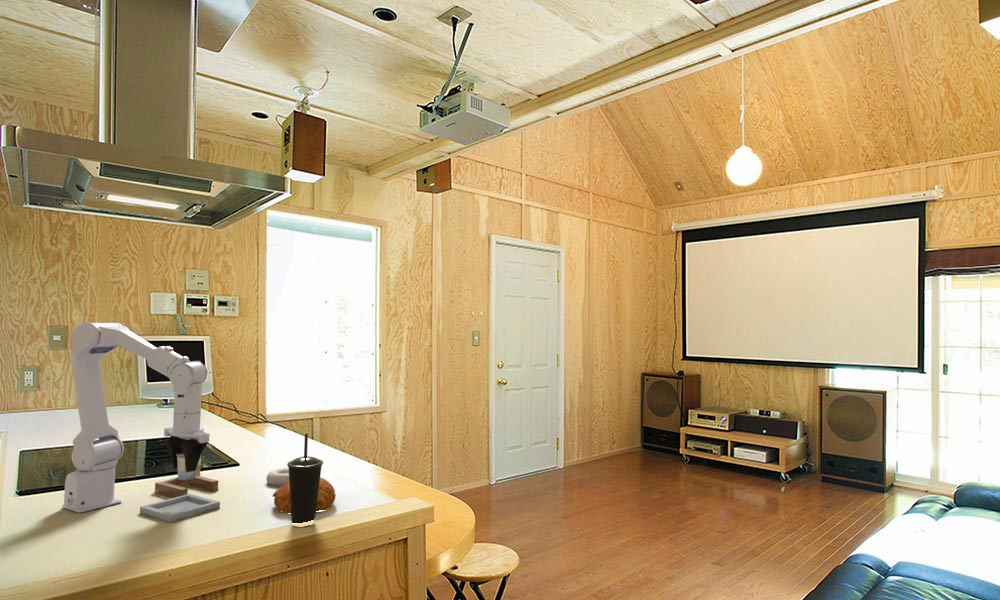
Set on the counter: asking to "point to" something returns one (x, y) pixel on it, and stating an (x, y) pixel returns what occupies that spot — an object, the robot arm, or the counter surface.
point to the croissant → (323, 501)
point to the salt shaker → (183, 468)
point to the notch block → (178, 486)
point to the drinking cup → (304, 486)
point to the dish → (179, 507)
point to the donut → (278, 477)
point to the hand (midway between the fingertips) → (184, 469)
